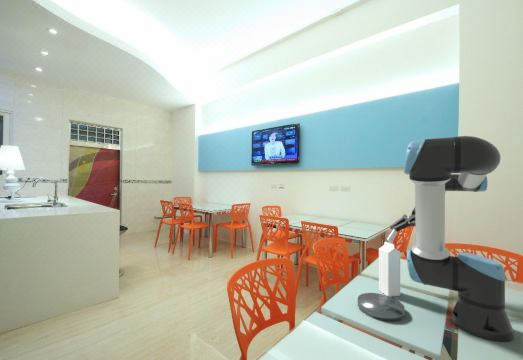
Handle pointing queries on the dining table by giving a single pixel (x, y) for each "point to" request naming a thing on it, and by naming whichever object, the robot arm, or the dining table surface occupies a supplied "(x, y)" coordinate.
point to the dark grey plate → (381, 307)
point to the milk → (389, 270)
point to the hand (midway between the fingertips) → (402, 244)
